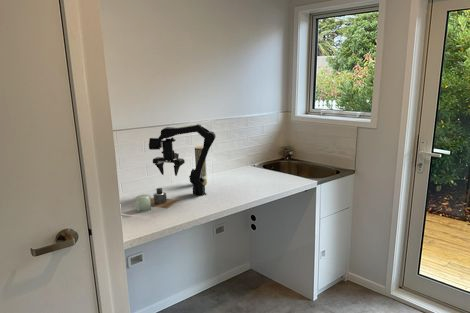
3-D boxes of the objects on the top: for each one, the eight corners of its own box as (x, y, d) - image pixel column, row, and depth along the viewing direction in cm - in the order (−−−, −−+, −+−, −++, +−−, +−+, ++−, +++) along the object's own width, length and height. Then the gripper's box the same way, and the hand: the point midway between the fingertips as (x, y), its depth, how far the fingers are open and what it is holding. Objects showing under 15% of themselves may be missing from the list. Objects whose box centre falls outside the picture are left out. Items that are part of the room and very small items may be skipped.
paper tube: (196, 183, 240) (194, 146, 235) (206, 182, 241) (205, 145, 235) (196, 185, 233) (194, 148, 228) (206, 185, 234) (205, 147, 229)
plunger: (165, 199, 201) (164, 187, 200) (161, 202, 197) (160, 190, 196) (159, 199, 203) (158, 187, 202) (154, 201, 199) (153, 189, 198)
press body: (170, 200, 204) (169, 192, 203) (162, 205, 196) (161, 197, 195) (160, 199, 206) (159, 191, 205) (151, 203, 199) (151, 195, 198)
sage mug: (153, 209, 192) (152, 195, 191) (143, 215, 184) (142, 200, 183) (143, 208, 195) (141, 193, 193) (132, 213, 187) (131, 198, 186)
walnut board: (180, 201, 203) (180, 200, 203) (167, 209, 191) (167, 208, 191) (154, 198, 210) (154, 197, 210) (139, 206, 198) (139, 204, 198)
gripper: (188, 147, 212) (190, 173, 215) (161, 146, 219) (163, 171, 222) (178, 151, 202) (180, 177, 205) (151, 149, 209) (153, 175, 212)
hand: (169, 175), depth 211 cm, fingers open, 9 cm apart
